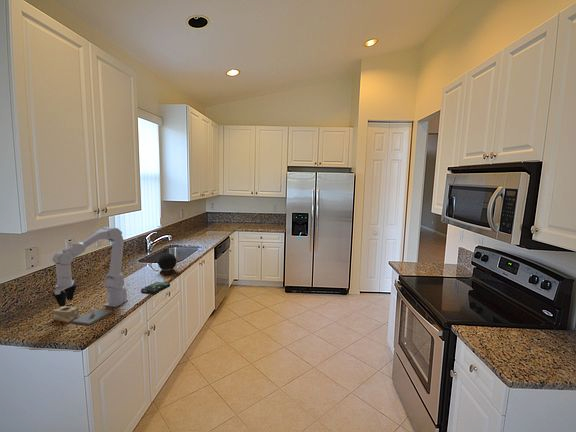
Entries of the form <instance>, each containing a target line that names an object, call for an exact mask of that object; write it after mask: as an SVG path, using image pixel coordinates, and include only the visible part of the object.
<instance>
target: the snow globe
mask: <svg viewBox="0 0 576 432" xmlns="http://www.w3.org/2000/svg"><path fill="white" fill-rule="evenodd" d="M157 259H158V261H157V264H158V267H159V268H160V271H159V274H160V275H162V276H168V275H173V274H175V273H177V272H176V270H175V267H176V266H177V263H178V262H177V257H176V256H175V255H174V254H173V253H170V252H166V253H163V254H161V255H160V256H159V258H157Z"/></svg>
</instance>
